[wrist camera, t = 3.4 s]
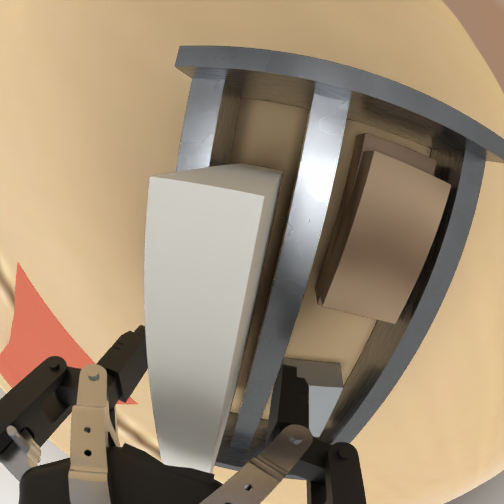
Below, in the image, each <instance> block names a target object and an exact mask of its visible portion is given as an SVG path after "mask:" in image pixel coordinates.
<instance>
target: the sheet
mask: <svg viewBox="0 0 504 504" xmlns="http://www.w3.org/2000/svg"><path fill="white" fill-rule="evenodd" d="M51 356H59V357H62V358H63V359H64V360H65V361H66V364H67V366H70V367H74V368H79V369H82V368H83V367H85V366H87V365H90V364H95V363H94V362H93V361H92V359H91V358H90V357H89V356H88V355H87V354H86V353H85V352H84V351H83V350H82V349H81V347H80V346H79V345H78V344H77V343H76V342H75V341H74V339H73V338H72V337H71V336H70V335H69V333H68V332H67V331H66V330H65V329H64V327H63V326H62V325H61V324H60V322H59V321H58V320H57V318H56V317H55V316H54V315H53V313H52V312H51V311H50V309H49V308H48V307H47V305H46V304H45V302H44V301H43V300H42V298H41V297H40V295H39V294H38V292H37V291H36V289H35V288H34V286H33V285H32V283H31V282H30V280H29V279H28V277H27V276H26V274H25V272H24V271H23V269H22V268H21V266H20V264H19V263H18V264H17V274H16V287H15V309H14V317H13V323H12V329H11V337H10V342H9V344H8V345H7V346H6V347H5V348H4V350H3V351H2V352H1V354H0V373H1V375H2V376H3V377H4V379H5V380H6V381H7V382H8V384H9V385H10V386H11V387H12V388H13V387H15V386H16V385H17V384H18V383H19V382H20V381H21V380H22V379H24V378H25V377H26V376H27V375H28V374H29V373H30V372H32V371H33V370H34V369H35V368H36V367H37V366H38V365H40V364H41V363H42V362H43V361H44V360H45V359H47V358H48V357H51ZM116 404H138V403H136V402H135V401H134V400H133V399H132V398H131V397H129V398H128V400H127V401H126V403H124V402H122V401H120V400H118V402H117V403H116Z"/></svg>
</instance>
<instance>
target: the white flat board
mask: <svg viewBox="0 0 504 504" xmlns="http://www.w3.org/2000/svg"><path fill="white" fill-rule="evenodd" d="M283 172H284V171H281V170H276V169H271V168H266V167H261V166H256V165H250V164H245V163H237V164H228V165H220V166H212V167H204V168H197V169H190V170H184V171H178V172H172V173H166V174H160V175H154V176H150V181H149V191H148V202H147V216H146V232H145V258H144V307H145V333H146V349H147V362H148V373H149V383H150V391H151V399H152V407H153V414H154V420H155V427H156V433H157V438H158V444H159V449H160V454H161V459H162V463H163V464H165V465H169V466H177V467H186V468H193V469H196V470H200V471H204V472H207V473H211V474H212V471H213V468H214V465H215V461H216V458H217V454H218V451H219V448H220V444H221V441H222V437H223V434H224V430H225V427H226V423H227V419H228V416H229V412H230V409H231V405H232V401H233V398H234V394H235V391H236V387H237V382H238V378H239V374H240V370H241V365H242V361H243V357H244V352H245V348H246V344H247V339H248V335H249V330H250V326H251V322H252V317H253V313H254V308H255V304H256V299H257V295H258V290H259V286H260V281H261V276H262V272H263V267H264V263H265V258H266V253H267V249H268V244H269V239H270V235H271V230H272V225H273V220H274V216H275V211H276V206H277V201H278V196H279V191H280V187H281V182H282V177H283Z"/></svg>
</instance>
